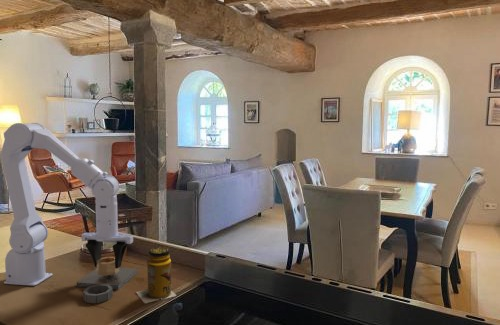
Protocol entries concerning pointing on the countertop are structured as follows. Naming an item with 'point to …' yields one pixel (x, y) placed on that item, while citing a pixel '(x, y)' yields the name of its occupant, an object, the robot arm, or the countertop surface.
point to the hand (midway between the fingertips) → (108, 266)
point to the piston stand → (108, 278)
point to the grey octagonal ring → (92, 297)
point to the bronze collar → (106, 266)
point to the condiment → (158, 276)
